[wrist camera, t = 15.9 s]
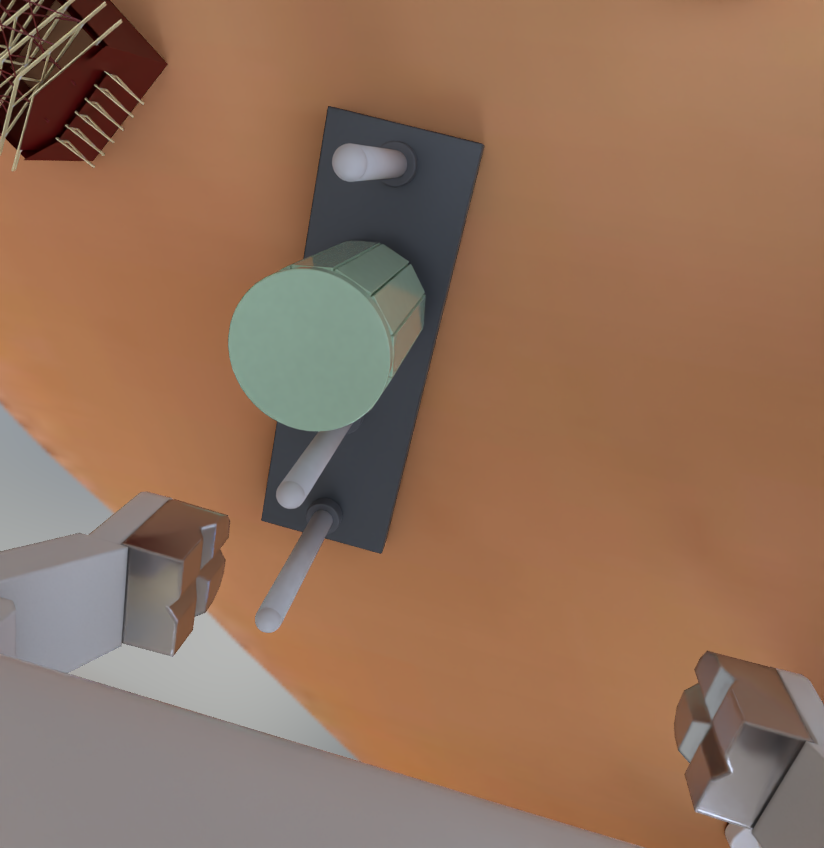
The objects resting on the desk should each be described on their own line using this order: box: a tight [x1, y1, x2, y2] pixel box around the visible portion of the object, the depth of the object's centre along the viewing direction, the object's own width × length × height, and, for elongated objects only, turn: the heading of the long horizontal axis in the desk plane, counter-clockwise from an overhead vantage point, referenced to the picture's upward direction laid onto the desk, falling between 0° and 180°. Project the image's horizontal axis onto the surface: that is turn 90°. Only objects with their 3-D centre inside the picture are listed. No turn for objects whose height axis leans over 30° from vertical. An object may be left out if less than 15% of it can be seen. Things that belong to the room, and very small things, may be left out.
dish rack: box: [255, 106, 484, 633], centre depth 31 cm, size 23×8×12 cm, turn 167°
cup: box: [228, 241, 426, 431], centre depth 28 cm, size 6×6×9 cm
